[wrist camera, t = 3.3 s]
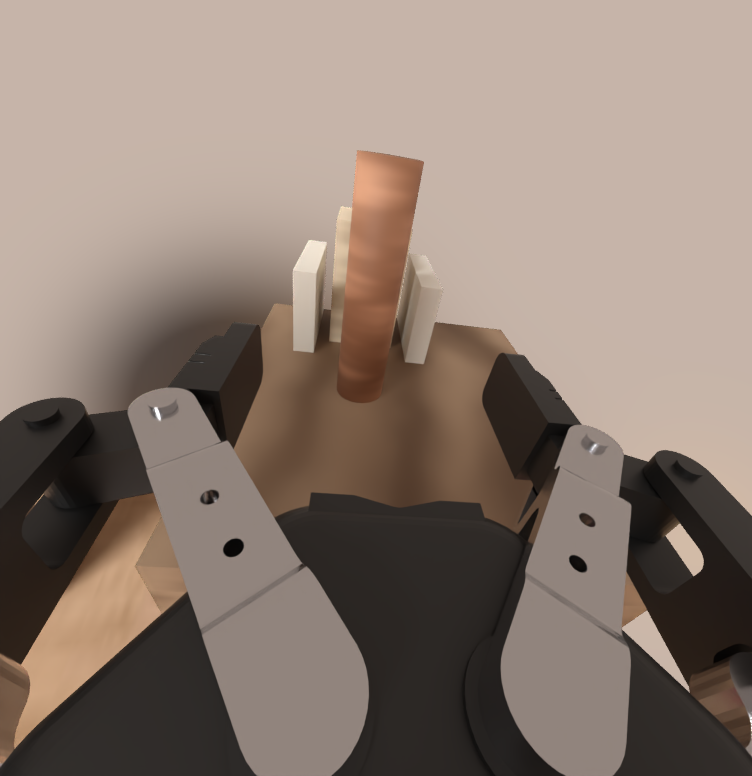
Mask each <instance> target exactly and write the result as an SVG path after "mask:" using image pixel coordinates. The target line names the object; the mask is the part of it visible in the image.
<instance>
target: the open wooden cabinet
mask: <svg viewBox="0 0 752 776" xmlns="http://www.w3.org/2000/svg"><path fill="white" fill-rule="evenodd" d="M330 320H331V310H326V309H324V310H323V315H322V319H321V323H320V327H319V332H318V336H317V340H316V345H315V349H314V353H311V352H302V351H293V306H292V305H283V304H275V305H274V306H273V308H272V310H271V312H270V314H269V316H268V318H267V319H266V321H265V323H264V325H263V327H262V329H261V343H262V357H263V376H262V382H261V385H260V387H259V390H258V392H257V395H256V397H255V399H254V402H253V404H252V406H251V409H250V411H249V414H248V416H247V418H246V421H245V423H244V426H243V428H242V430H241V433H240V435H239V438H238V440H237V442H236V445H235V447H234V451H235V453H236V454H237V456H238V458H239V459H240V461H241V463H242V465H243V466H244V468H245V470H246V471H247V473H248V475H249V476H250V478H251V480H252V481H253V483H254V485H255V486H256V488H257V490H258V491H259V493H260V495H261V497H262V498H263V500H264V502H265V503H266V505H267V507H268V508H269V510H270V512H271V513H272V515H273V517H274V518H275V517H277V516H278V515H280V514H283V513H285V512H287V511H290V510H293V509H296V508H300V507H305V506H309V502H310V495H311V492H315V493H330V494H346V495H356V496H359V497H363V498H366V499H369V500H373V501H376V502H380V503H383V504H386V505H390V506H393V507H398V508H401V507H408V506H413V505H419V504H424V503H430V502H435V501H455V502H471V503H480V504H481V507H482V510H483V514H484V517H485V518H488V519H491V520H493V521H496V522H498V523H500V524H502V525H504V526H506V527H508V528H509V529H511V530H512V529H513V526H514V524H515V522H516V519H517V517H518V515H519V512H520V510H521V507H522V505H523V503H524V500H525V498H526V496H527V493H528V491H529V490H530V488H531V487H532V485H533V483H532V481H531V480H517V479H514V476H513V474H512V472H511V469H510V467H509V465H508V462H507V460H506V458H505V456H504V453H503V451H502V449H501V446H500V444H499V442H498V439H497V437H496V435H495V432H494V430H493V428H492V425H491V423H490V421H489V419H488V416H487V414H486V412H485V409H484V407H483V403H482V394H483V390H484V387H485V385H486V382H487V380H488V377H489V375H490V372H491V370H492V367H493V365H494V363H495V360H496V358H497V356H498V355H499V354H500V353H509V354H517V352H516V351H515V349H514V348H513V347H512V345H511V344H510V342H509V341H508V339H507V338H506V337H505V335H504V334H503V332H502V331H501V330H497V329H489V328H479V327H471V326H463V325H454V324H445V323H437V322H435V323H434V327H433V331H432V335H431V338H430V342H429V346H428V350H427V354H426V358H425V361H424V364H417V363H408V362H405V360H404V354H403V349H402V343H401V338H400V332H399V326H398V321H397V318H396V321H395V327H394V332H393V337H392V343H391V348H389V354H388V359H387V365H386V370H385V375H384V381H383V386H382V392H381V395H380V397H379V398H378V399H376V400H375V401H372V402H369V403H355V402H351V401H349V400H346V399H345V398H343V397H342V396H341V395H340V394H339V393H338V391H337V378H338V366H339V355H340V342H331V341H329V336H330ZM135 567H136V569H137V570H138V572H139V574H140V576H141V578H142V579H143V581H144V583H145V585H146V586H147V588H148V590H149V592H150V593H151V595H152V597H153V599H154V601H155V602H156V604H157V606H158V608H159V609H160V611H161V613H164V612H165V611H166V610H167V609H168V608H169V607H170V606H171V605H173V604H174V603H175V602H176V601H177V600H178V599H179V598H180V597H181V596H183V595H184V594H185V593H186V592H187V588H186V585H185V583H184V580H183V577H182V574H181V571H180V568H179V565H178V562H177V559H176V556H175V553H174V550H173V548H172V545H171V542H170V539H169V536H168V533H167V530H166V527H165V524H164V521H163V518H162V517H161V518H160V520H159V522H158V524H157V526H156V528H155V530H154V532H153V533H152V535H151V537H150V539H149V541H148V543H147V545H146V547H145V548H144V550H143V552H142V554H141V556H140V558H139V560H138V562H137V563H136V565H135ZM646 610H647V609H646V607H645V605H644V603H643V601H642V600H641V598H640V596H639V594H638V592H637V590H636V588H635V587H634V585H633V583H632V581H631V579H630V577H629V576H628V574H627V572H626V580H625V592H624V604H623V616H622V627H623V626H624V625H626V624H627V623H629V622H630V621H632V620H633V619H635V618H636V617H638V616H639V615H641V614H642V613H643V612H645V611H646Z"/></svg>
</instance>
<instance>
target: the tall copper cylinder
mask: <svg viewBox="0 0 752 776" xmlns="http://www.w3.org/2000/svg"><path fill="white" fill-rule="evenodd" d="M423 164H424V162H423V161H420V160H415V159H410V158H405V157H400V156H394V155H388V154H382V153H375V152H368V151H359V150H358V151H357V159H356V170H355V183H354V193H353V206H352V208H349V207H342V206H341V209H340V211H339V215H338V218H337V226H336V242H335V243H336V244H335V259H334V273H333V274H334V275H333V289H332V306H331V320H330V336H329V341H331V342H340V355H339V366H338V378H337V391H338V393H339V394H340V395H341V396H342V397H343V398H345V399H346V400H349V401H351V402H355V403H369V402H372V401H375V400H376V399H378V398H379V397H380V395H381V392H382V386H383V381H384V375H385V370H386V365H387V359H388V354H389V348H391V343H392V337H393V332H394V327H395V321H396V316H397V311H398V305H399V300H400V295H401V289H402V284H403V279H404V273H405V267H406V262H407V257H408V252H409V246H410V240H411V236H412V224H413V219H414V213H415V208H416V202H417V197H418V192H419V186H420V180H421V175H422V169H423Z"/></svg>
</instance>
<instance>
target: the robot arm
mask: <svg viewBox="0 0 752 776" xmlns="http://www.w3.org/2000/svg"><path fill="white" fill-rule="evenodd" d="M262 376H263V357H262V343H261V330H260V327H259V325H255V324H246V323H237V322H234V323H233V324H232V325H231V327H230V328H229V329H228V331H227V332H226V334H225V335H224V336H214V337H212V338H210V339H208V340H207V341H205V342H203V343H202V344H201V345H200V347H199V348H198V349H197V350H196V352H195V355H192V357H191V358H190V359H189V362H188V363H186V364H185V366H184V367H183V368H182V370H181V371H180V372H179V373H178V375H177V376H176V377H175V378H174V380H173V381H172V382H171V384H170V385H169V386H168V387H167V388H162V389H157V390H153V391H150V392H147V393H145V394H143V395H141V396H139V397H138V398H136V399H135V400H134V401H133V402H132V403H131V405H130V406H129V408H128V410H124V411H118V412H109V413H99V414H91V415H88V413H87V411H86V409H85V406H84V405H83V404H82V403H81V402H80V401H78V400H75V399H71V398H50V399H45V400H40V401H37V402H33V403H30V404H28V405H25V406H23V407H20V408H18V409H16V410H15V411H13V412H11V413H10V414H9V415H7V416H6V417H5V418H4V419H3V420H1V421H0V776H752V516H751V515H750V514H749V513H748V512H747V511H746V510H745V508H744V507H743V506H742V505H741V504H740V503H739V502H738V501H737V500H736V499H735V498H734V497H733V496H732V495H731V494H730V493H729V492H728V491H727V490H726V488H725V487H724V486H723V485H722V484H721V483H720V482H719V481H718V480H717V479H716V478H715V477H714V476H713V475H712V474H711V473H710V472H709V471H708V470H707V469H706V468H704V467H703V466H702V465H700V464H699V463H697V462H696V461H694V460H692V459H691V458H689V457H687V456H684V455H682V454H680V453H677V452H673V451H668V450H663V451H659V452H657V453H656V454H655V455H654V456H653V457H652V458H651V460H650V461H649V462H647V461H644V460H640V459H637V458H634V457H630V456H627V455H624V453H623V450H622V448H621V447H620V445H619V444H618V443H617V442H616V441H615V440H614V439H613V438H611V437H610V436H609V435H607V434H605V433H604V432H602V431H600V430H598V429H596V428H593V427H590V426H586V425H582V424H581V423H580V422H579V421H578V419H577V418H576V416H575V415H574V414H573V413H572V411H571V410H570V408H569V407H568V406H567V404H566V403H565V402H564V400H562V397H561V396H560V395H559V393H558V392H556V390H555V388H554V387H553V385H552V384H551V383H550V381H549V380H548V379H546V378H545V377H544V376H543V375H541V374H540V373H539V372H537V371H535V369H534V368H533V367H532V365H531V364H530V363H529V361H528V360H527V358H526V357H525V356H524V355H518V354H509V353H500V354H499V355H498V356H497V358H496V360H495V363H494V365H493V367H492V370H491V372H490V375H489V377H488V380H487V382H486V385H485V387H484V390H483V394H482V403H483V407H484V409H485V412H486V414H487V416H488V419H489V421H490V423H491V425H492V428H493V430H494V432H495V435H496V437H497V439H498V442H499V444H500V446H501V449H502V451H503V453H504V456H505V458H506V460H507V462H508V465H509V467H510V469H511V472H512V474H513V476H514V479H517V480H531V481H532V483H533V485H532V487H531V488H530V490H529V491H528V493H527V496H526V498H525V500H524V503H523V505H522V507H521V510H520V512H519V515H518V517H517V519H516V522H515V524H514V526H513V529H512V530H511V529H509V528H508V527H506V526H504V525H502V524H500V523H498V522H496V521H493V520H491V519H488V518H485V517H484V514H483V510H482V507H481V504H480V503H471V502H455V501H435V502H430V503H424V504H419V505H413V506H408V507H401V508H398V507H393V506H390V505H386V504H383V503H380V502H376V501H373V500H369V499H366V498H363V497H359V496H356V495H346V494H330V493H315V492H311V495H310V502H309V506H305V507H300V508H296V509H293V510H290V511H287V512H285V513H283V514H280V515H278V516H277V517H275V518H274V517H273V515H272V513H271V512H270V510H269V508H268V507H267V505H266V503H265V502H264V500H263V498H262V497H261V495H260V493H259V491H258V490H257V488H256V486H255V485H254V483H253V481H252V480H251V478H250V476H249V475H248V473H247V471H246V470H245V468H244V466H243V465H242V463H241V461H240V459H239V458H238V456H237V454H236V453H235V451H234V447H235V445H236V442H237V440H238V438H239V435H240V433H241V430H242V428H243V426H244V423H245V421H246V418H247V416H248V414H249V411H250V409H251V406H252V404H253V402H254V399H255V397H256V395H257V392H258V390H259V387H260V385H261V382H262ZM43 493H44V495H43V496H42V494H43ZM149 493H154V495H155V498H156V501H157V504H158V507H159V510H160V513H161V515H162V518H163V521H164V524H165V527H166V530H167V533H168V536H169V539H170V542H171V545H172V548H173V550H174V553H175V556H176V559H177V562H178V565H179V568H180V571H181V574H182V577H183V580H184V583H185V585H186V588H187V592H186V593H185V594H184V595H183V596H181V597H180V598H179V599H178V600H177V601H176V602H175V603H174V604H173V605H171V606H170V607H169V608H168V609H167V610H166V611H165V612H164V613H162V614H161V615H160V616H159V617H158V618H157V619H156V620H155V621H153V622H152V623H151V624H150V625H149V626H148V627H147V628H146V629H144V630H143V631H142V632H141V633H140V634H139V635H138V636H137V637H135V638H134V639H133V640H132V641H131V642H130V643H129V644H128V645H127V646H125V647H124V648H123V649H122V650H121V651H120V652H119V653H118V654H116V655H115V656H114V657H113V658H112V659H111V660H110V661H109V662H107V663H106V664H105V665H104V666H103V667H102V668H101V669H100V670H98V671H97V672H96V673H95V674H94V675H93V676H92V677H91V678H89V679H88V680H87V681H86V682H85V683H84V684H83V685H82V686H81V687H79V688H78V689H77V690H76V691H75V692H74V693H73V694H72V695H70V696H69V697H68V698H67V699H66V700H65V701H64V702H63V703H61V704H60V705H59V706H58V707H57V708H56V709H55V710H54V711H52V712H51V713H50V714H49V715H48V716H47V717H46V718H45V719H44V720H43V721H41V722H40V723H39V724H38V725H37V726H36V727H35V728H34V729H33V730H32V731H31V732H30V733H29V734H28V735H27V736H26V737H25V738H24V739H23V741H22V742H21V743H20V744H19V745H18V746H17V747H16V748H15V749H14V738H15V732H16V728H17V725H18V722H19V719H20V717H21V714H22V712H23V709H24V707H25V705H26V702H27V699H28V695H29V690H30V679H29V675H28V673H27V671H26V670H25V668H24V667H23V666H21V664H22V662H23V660H24V659H25V657H26V655H27V654H28V652H29V650H30V649H31V647H32V645H33V643H34V642H35V640H36V638H37V637H38V635H39V633H40V632H41V630H42V628H43V627H44V625H45V623H46V622H47V620H48V618H49V617H50V615H51V613H52V612H53V610H54V608H55V607H56V605H57V603H58V601H59V600H60V598H61V596H62V595H63V593H64V591H65V590H66V588H67V586H68V585H69V583H70V581H71V580H72V578H73V576H74V575H75V573H76V571H77V570H78V568H79V566H80V564H81V563H82V561H83V559H84V558H85V556H86V554H87V553H88V551H89V549H90V548H91V546H92V544H93V543H94V541H95V539H96V538H97V536H98V534H99V533H100V531H101V529H102V527H103V526H104V524H105V522H106V521H107V519H108V517H109V516H110V514H111V512H112V511H113V509H114V507H115V506H116V504H117V502H118V501H119V499H123V498H129V497H134V496H139V495H144V494H149ZM41 496H42V497H41ZM40 497H41V499H40V500H39V501H38V502H37V500H38V499H39V498H40ZM36 502H37V504H36V505H34V504H35V503H36ZM678 524H681V525H682V526H683V528H684V529H685V530H686V532H687V533H688V534H689V536H690V537H691V538H692V540H693V541H694V542H695V544H696V545H697V546H698V548H699V549H700V551H701V553H702V555H703V558H704V565H703V569H702V570H701V572H699V573H698V574H697V575H695V576H694V577H693V575H692V574H691V572H690V571H689V569H688V568H687V566H686V565H685V564H684V562H683V561H682V559H681V558H680V557H679V555H678V553H677V552H676V550H675V549H674V548H673V546H672V545H671V543H670V542H669V540H668V539H667V538H666V536H665V535H667V534H668V533H669V532H670V531H671V530H672V529H674V528H675V527H676V526H677V525H678ZM626 572H627V574H628V576H629V577H630V579H631V581H632V583H633V585H634V587H635V588H636V590H637V592H638V594H639V596H640V598H641V600H642V601H643V603H644V605H645V607H646V609H647V611H648V612H649V614H650V616H651V618H652V620H653V621H654V623H655V625H656V627H657V629H658V631H659V633H660V634H661V636H662V638H663V640H664V642H665V643H666V646H667V647H668V649H669V651H670V653H671V655H672V657H673V658H674V660H675V662H676V664H677V666H678V668H679V669H680V671H681V673H682V675H683V677H684V679H685V680H686V682H687V684H688V686H689V690H690V693H689V692H688V691H687V690H686V689H685V688H684V687H683V686H682V685H681V684H680V683H679V682H678V681H676V680H675V679H674V678H673V677H672V676H671V675H670V674H669V673H668V672H667V671H666V670H665V669H663V667H661V666H660V665H659V664H658V663H657V662H656V661H655V660H654V659H653V658H652V657H651V656H650V655H649V654H647V653H646V652H645V651H644V650H643V649H642V648H641V647H640V646H639V645H638V644H637V643H636V642H635V641H634V640H632V639H631V638H630V637H629V636H628V635H627V634H626V633H625V632H624V631H623V630H622V616H623V604H624V592H625V580H626Z"/></svg>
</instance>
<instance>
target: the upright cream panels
mask: <svg viewBox="0 0 752 776" xmlns="http://www.w3.org/2000/svg"><path fill="white" fill-rule="evenodd" d="M326 254H327V242H321V241H314V240H309V241H308V243H307V245H306V247H305V248H304V250H303V252H302V254H301V256H300V258H299V260H298V262H297V263H296V265H295V267H294V269H293V351H302V352H311V353H314V349H315V345H316V340H317V336H318V332H319V327H320V323H321V319H322V315H323V310H324V294H325V274H326ZM442 292H443V288H442V286H441V284H440V282H439V280H438V278H437V277H436V274H435V272H434V270H433V268H432V267H431V265H430V263H429V261H428V259H427V257H426V256H422V255H416V254H409V257H408V262H407V267H406V272H405V278H404V283H403V289H402V294H401V299H400V305H399V310H398V315H397V321H398V326H399V332H400V338H401V343H402V349H403V354H404V360H405V362H408V363H417V364H424V361H425V358H426V354H427V350H428V346H429V342H430V338H431V335H432V331H433V327H434V323H435V319H436V316H437V312H438V308H439V304H440V300H441V296H442Z"/></svg>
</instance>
